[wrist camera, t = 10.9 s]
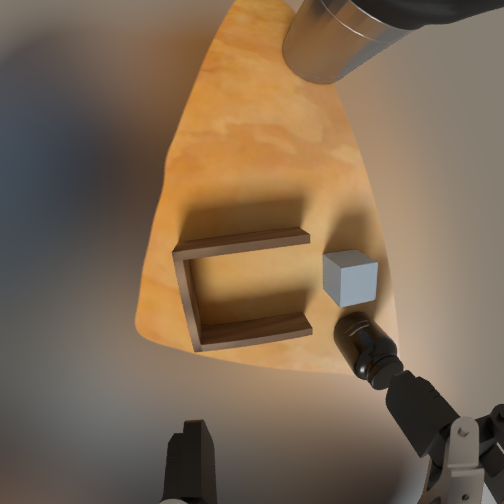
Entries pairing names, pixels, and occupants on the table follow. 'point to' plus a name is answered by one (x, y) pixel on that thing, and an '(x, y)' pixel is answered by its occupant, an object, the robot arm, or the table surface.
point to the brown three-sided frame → (238, 331)
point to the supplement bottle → (367, 349)
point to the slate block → (349, 277)
